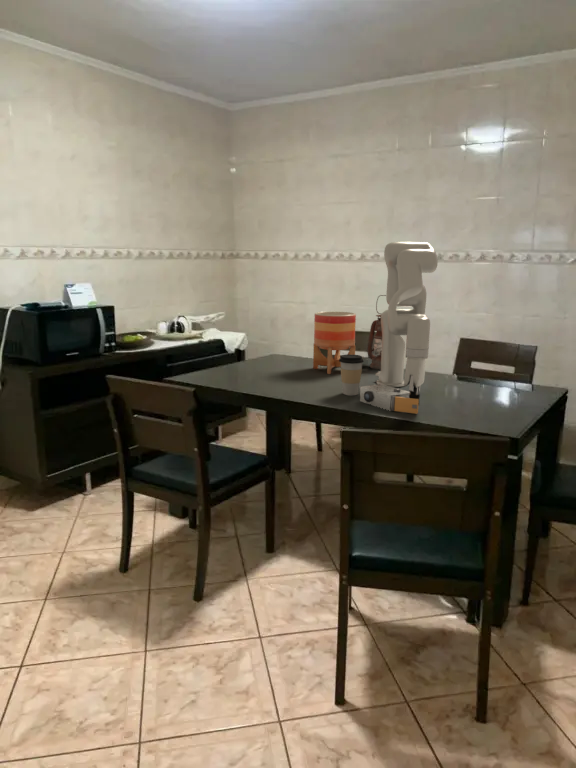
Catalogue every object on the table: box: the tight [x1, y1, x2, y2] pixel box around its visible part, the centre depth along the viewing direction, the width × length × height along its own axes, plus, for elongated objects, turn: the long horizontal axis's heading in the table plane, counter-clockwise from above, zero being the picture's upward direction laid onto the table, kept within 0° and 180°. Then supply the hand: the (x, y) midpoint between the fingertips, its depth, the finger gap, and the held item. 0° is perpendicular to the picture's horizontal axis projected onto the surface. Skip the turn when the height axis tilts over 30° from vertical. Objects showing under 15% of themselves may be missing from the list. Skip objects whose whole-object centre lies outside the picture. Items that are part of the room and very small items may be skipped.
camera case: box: [359, 383, 409, 412], centre depth 204 cm, size 16×11×6 cm
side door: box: [392, 396, 420, 415], centre depth 193 cm, size 1×9×5 cm, turn 64°
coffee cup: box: [339, 354, 364, 396], centre depth 219 cm, size 9×9×15 cm
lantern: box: [366, 294, 386, 370], centre depth 270 cm, size 11×16×35 cm
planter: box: [312, 311, 357, 375], centre depth 264 cm, size 20×20×27 cm
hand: (413, 405), depth 195 cm, fingers closed
